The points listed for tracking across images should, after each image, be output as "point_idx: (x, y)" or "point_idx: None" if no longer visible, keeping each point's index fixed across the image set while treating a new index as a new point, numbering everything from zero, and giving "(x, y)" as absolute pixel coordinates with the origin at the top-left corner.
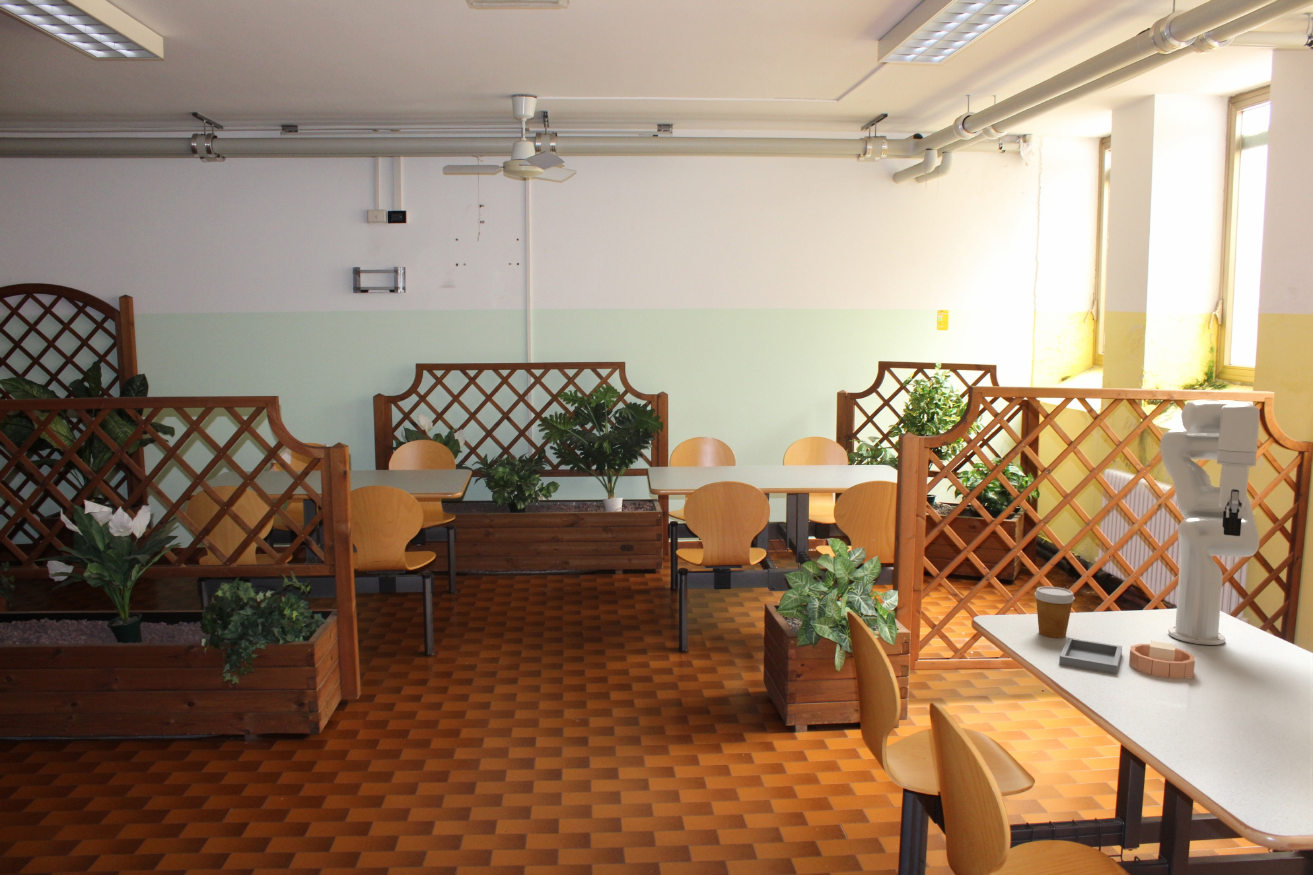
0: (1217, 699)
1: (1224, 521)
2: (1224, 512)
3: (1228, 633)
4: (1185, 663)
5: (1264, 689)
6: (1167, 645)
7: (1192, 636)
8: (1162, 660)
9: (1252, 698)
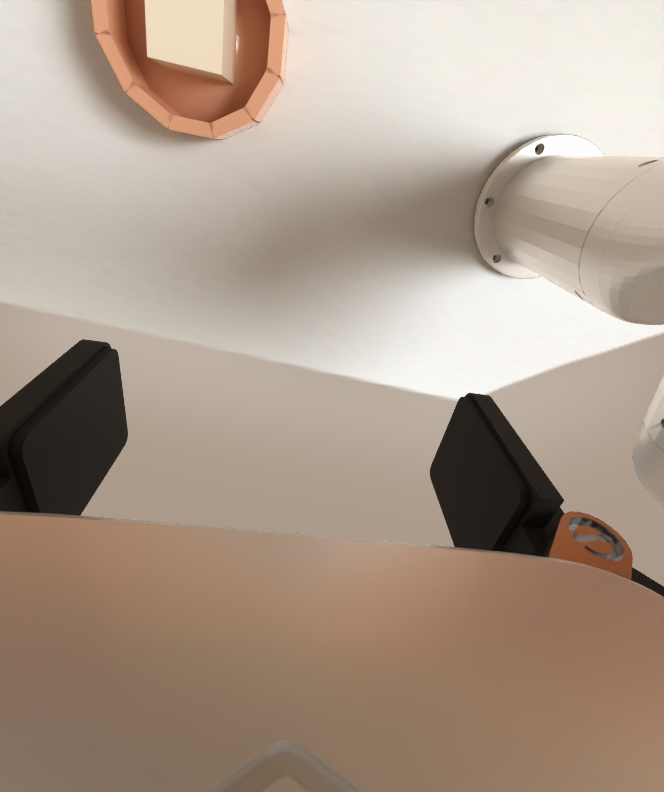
0: (42, 160)
1: (6, 404)
2: (519, 491)
3: None
4: (127, 92)
5: (187, 283)
6: (194, 38)
7: (503, 193)
8: (104, 7)
9: (107, 245)
